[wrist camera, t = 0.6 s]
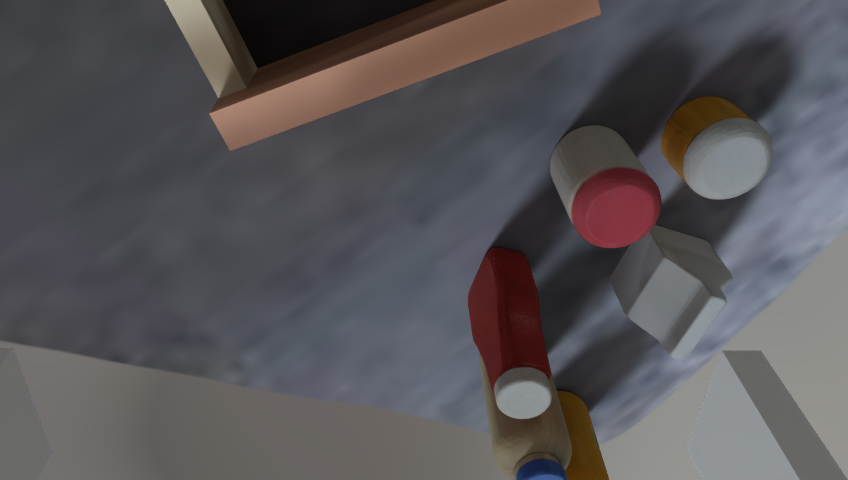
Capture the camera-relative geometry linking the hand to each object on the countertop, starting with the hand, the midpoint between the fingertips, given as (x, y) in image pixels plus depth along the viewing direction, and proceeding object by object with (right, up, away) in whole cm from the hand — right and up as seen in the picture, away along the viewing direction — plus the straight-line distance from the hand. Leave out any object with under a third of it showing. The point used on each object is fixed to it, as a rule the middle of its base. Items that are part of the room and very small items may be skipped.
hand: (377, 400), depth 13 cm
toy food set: (+11, +1, +30) cm, 32 cm away
